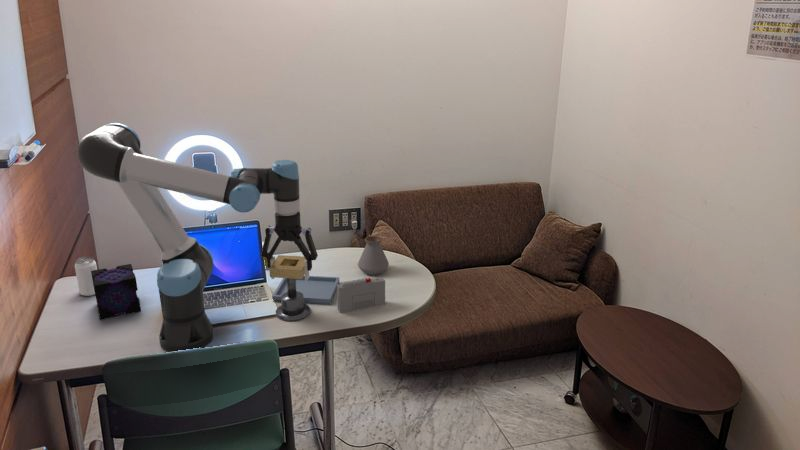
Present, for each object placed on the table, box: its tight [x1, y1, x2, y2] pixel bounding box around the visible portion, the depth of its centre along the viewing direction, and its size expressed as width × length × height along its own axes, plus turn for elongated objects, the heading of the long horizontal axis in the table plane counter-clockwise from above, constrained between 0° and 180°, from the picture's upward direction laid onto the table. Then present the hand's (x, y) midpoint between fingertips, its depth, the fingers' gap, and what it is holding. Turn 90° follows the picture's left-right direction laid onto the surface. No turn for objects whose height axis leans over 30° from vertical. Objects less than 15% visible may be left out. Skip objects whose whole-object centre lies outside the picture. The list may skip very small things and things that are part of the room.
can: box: [74, 256, 98, 297], centre depth 201 cm, size 6×6×12 cm
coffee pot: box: [357, 219, 390, 276], centre depth 224 cm, size 21×12×15 cm, turn 13°
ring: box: [268, 254, 306, 279], centre depth 188 cm, size 12×10×3 cm
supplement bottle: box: [261, 241, 274, 270], centre depth 223 cm, size 5×5×10 cm
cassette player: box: [336, 276, 386, 314], centre depth 195 cm, size 16×3×10 cm, turn 112°
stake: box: [275, 278, 311, 322], centre depth 189 cm, size 11×11×16 cm
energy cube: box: [91, 263, 142, 321], centre depth 192 cm, size 12×12×12 cm
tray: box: [271, 275, 340, 306], centre depth 206 cm, size 17×20×2 cm
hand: (290, 278), depth 188 cm, fingers closed on ring, 10 cm apart
